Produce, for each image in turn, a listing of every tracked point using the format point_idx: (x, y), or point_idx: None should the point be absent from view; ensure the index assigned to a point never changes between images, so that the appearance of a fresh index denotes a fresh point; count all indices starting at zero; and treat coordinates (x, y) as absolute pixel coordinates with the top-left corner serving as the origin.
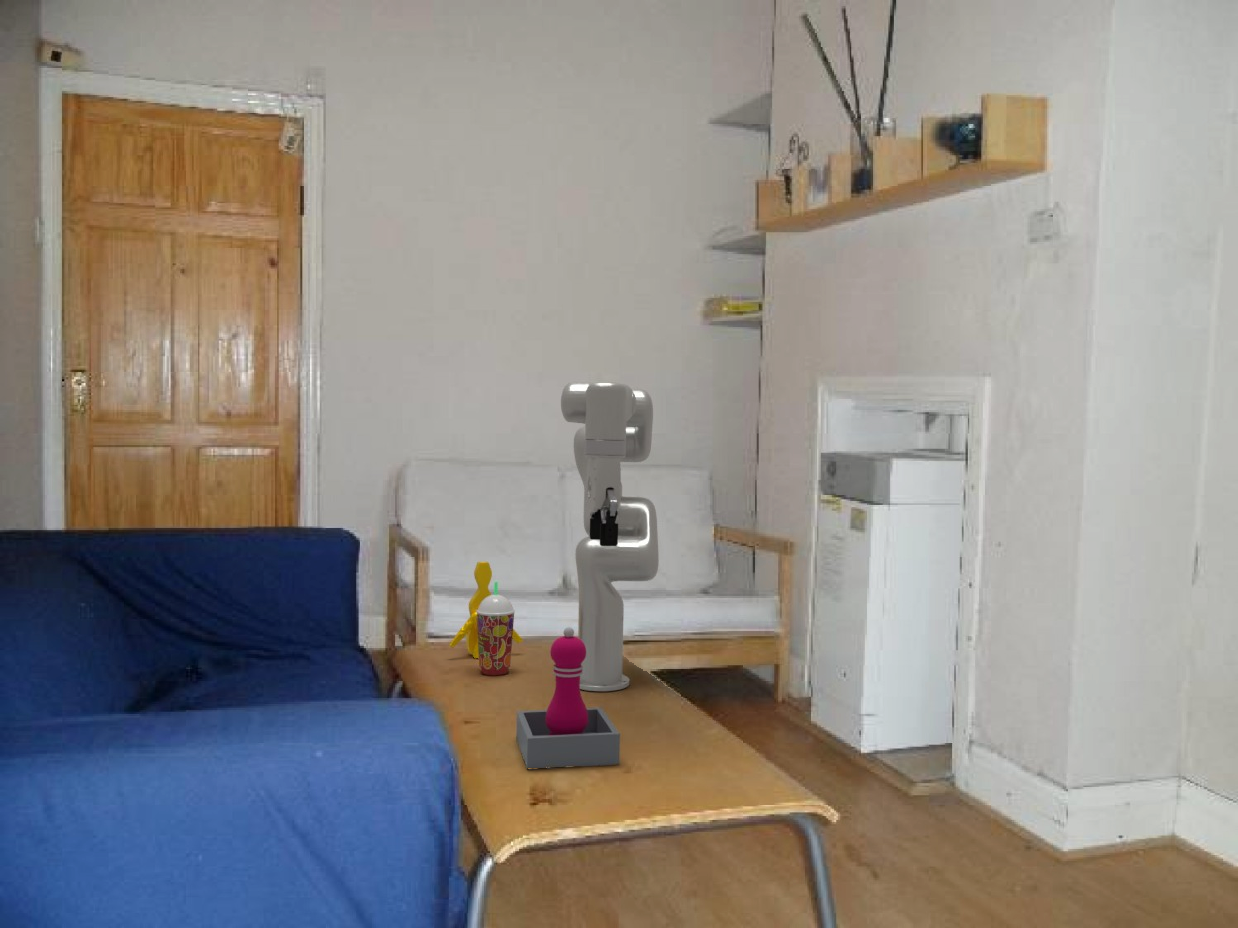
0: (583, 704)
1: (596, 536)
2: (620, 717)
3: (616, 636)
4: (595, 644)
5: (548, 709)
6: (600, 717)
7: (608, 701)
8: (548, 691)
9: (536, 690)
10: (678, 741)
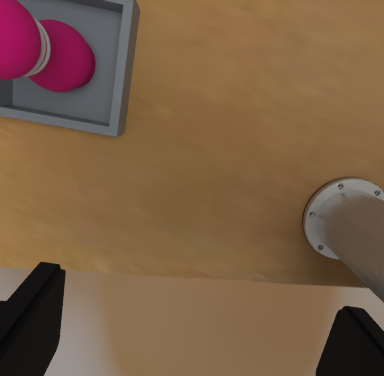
0: (30, 77)
1: (336, 342)
2: (189, 186)
3: (353, 267)
4: (356, 226)
5: (49, 20)
6: (82, 121)
7: (262, 198)
8: (343, 136)
9: (356, 120)
10: (75, 214)
